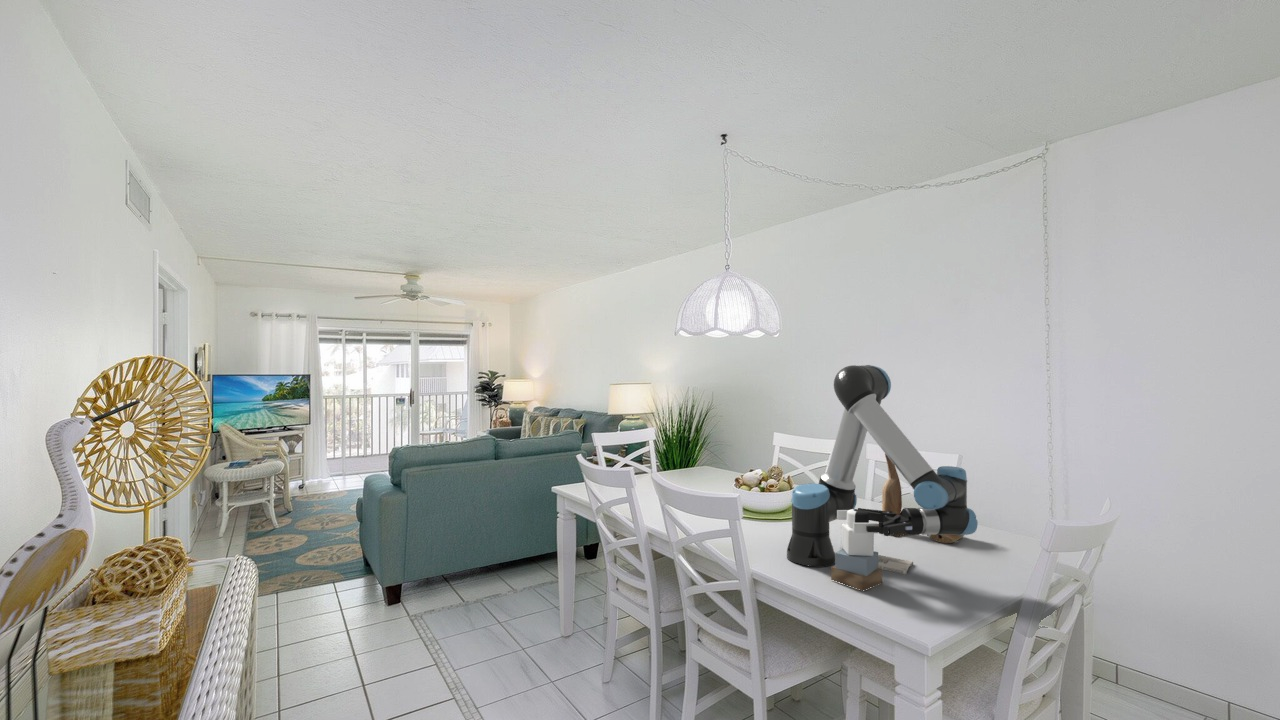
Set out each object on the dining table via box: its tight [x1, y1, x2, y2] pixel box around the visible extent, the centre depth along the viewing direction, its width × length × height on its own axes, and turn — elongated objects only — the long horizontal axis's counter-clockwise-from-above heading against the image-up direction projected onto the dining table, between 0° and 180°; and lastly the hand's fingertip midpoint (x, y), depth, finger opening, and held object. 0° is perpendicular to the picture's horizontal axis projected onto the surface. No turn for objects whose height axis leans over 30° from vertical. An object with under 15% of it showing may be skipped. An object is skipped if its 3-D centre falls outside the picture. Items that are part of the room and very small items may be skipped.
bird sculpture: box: [878, 453, 907, 538], centre depth 212 cm, size 11×12×32 cm
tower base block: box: [830, 565, 883, 592], centre depth 162 cm, size 10×10×4 cm
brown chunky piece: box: [928, 535, 965, 544], centre depth 203 cm, size 15×12×15 cm
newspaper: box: [839, 547, 914, 575], centre depth 180 cm, size 23×12×2 cm, turn 53°
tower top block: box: [834, 548, 879, 576], centre depth 162 cm, size 9×9×4 cm
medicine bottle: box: [840, 508, 875, 556], centre depth 162 cm, size 7×7×12 cm
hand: (845, 521), depth 163 cm, fingers open, 13 cm apart
